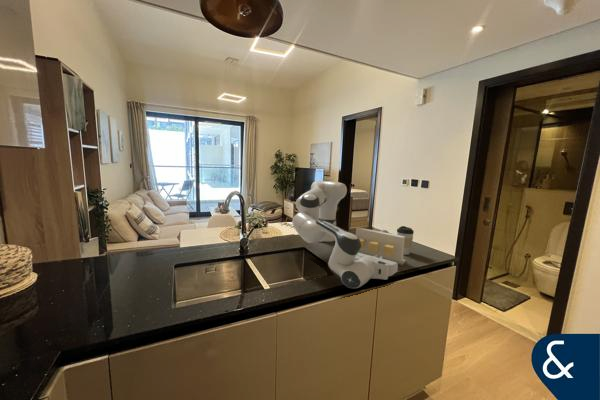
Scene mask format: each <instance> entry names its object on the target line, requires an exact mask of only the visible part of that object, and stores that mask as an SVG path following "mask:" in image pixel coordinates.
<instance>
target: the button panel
mask: <svg viewBox="0 0 600 400" xmlns="http://www.w3.org/2000/svg"><path fill="white" fill-rule="evenodd" d="M355 235H356V236H358V238H360V239H365V240H366V242H365V247H363V248H360V250H359V253H363V254H366V255H370V256H376V255H378V256H382V257H383V259H385V260H389V261H393V262H396V263H398V265H402V266H403V265H404V264H405V263H406V259H404V255H403V252H404V240H405V236H400V235H397V234H394V233H390V232H389V233H384V232H380V230H379V231H378V230H375V229H374V230H373V229H369V228H365V227H364V228H363V227H356V228H355ZM372 241H373V242H380V244H379V250H378V251H377V252H375V251H371V250H369V243H370V242H372ZM385 245H391V246H395V248H394V254H393V255H392V256H391V255H387V254H384V246H385Z"/></svg>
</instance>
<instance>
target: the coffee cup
mask: <svg viewBox="0 0 600 400" xmlns="http://www.w3.org/2000/svg"><path fill="white" fill-rule="evenodd" d="M414 233H415V231H414V230H413V229H412V228H411V227H408V226H405V225H402V226H400V227H398V228H397V229H396V235H400V236H405V240H404V252H403V256H405V255H406V256H408V255H410V254H411V249H412V244H413V239H414Z"/></svg>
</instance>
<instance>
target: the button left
mask: <svg viewBox="0 0 600 400" xmlns="http://www.w3.org/2000/svg"><path fill="white" fill-rule="evenodd" d="M359 240H360V242H361V248H363V247H365V242H366V239H360V238H359Z"/></svg>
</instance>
